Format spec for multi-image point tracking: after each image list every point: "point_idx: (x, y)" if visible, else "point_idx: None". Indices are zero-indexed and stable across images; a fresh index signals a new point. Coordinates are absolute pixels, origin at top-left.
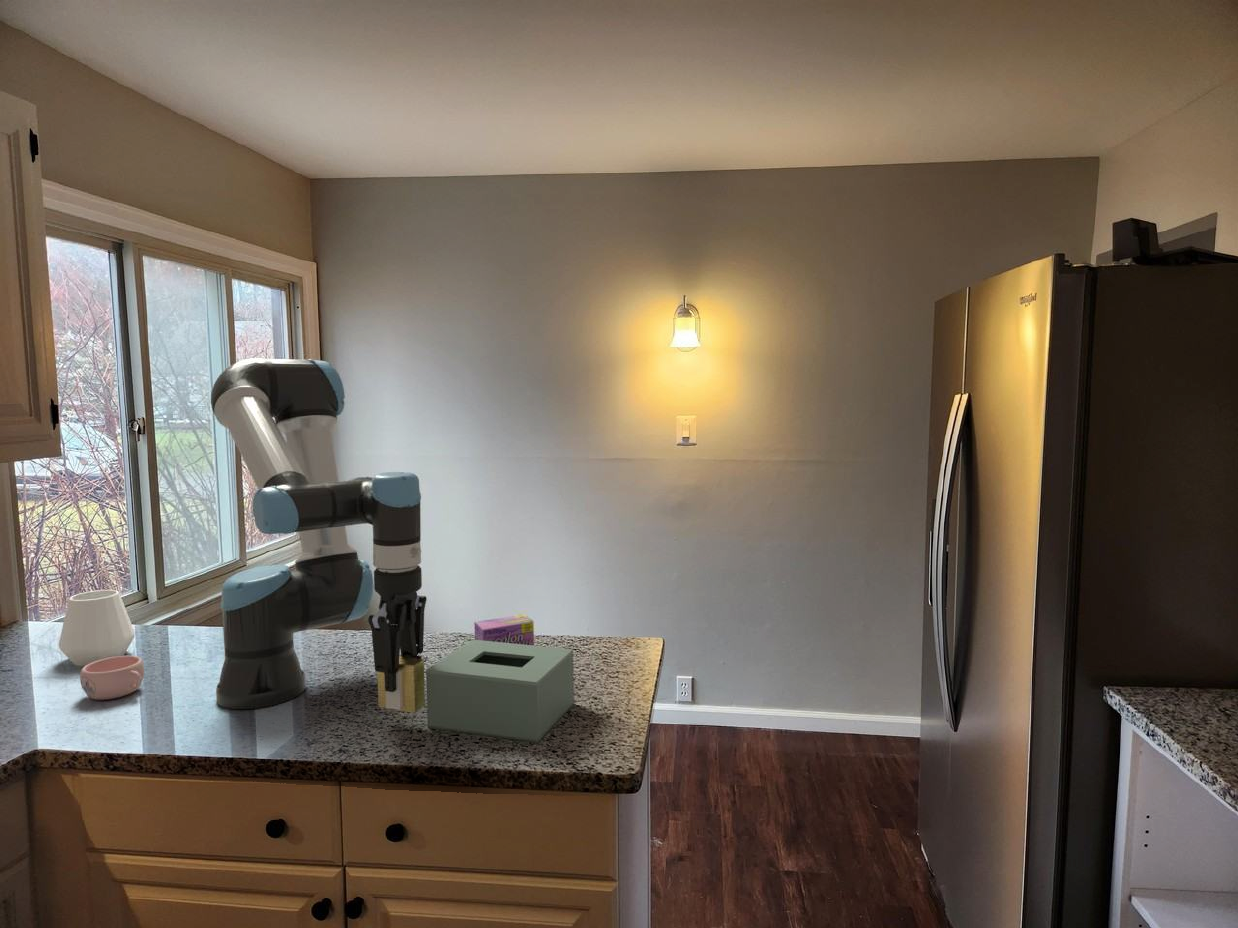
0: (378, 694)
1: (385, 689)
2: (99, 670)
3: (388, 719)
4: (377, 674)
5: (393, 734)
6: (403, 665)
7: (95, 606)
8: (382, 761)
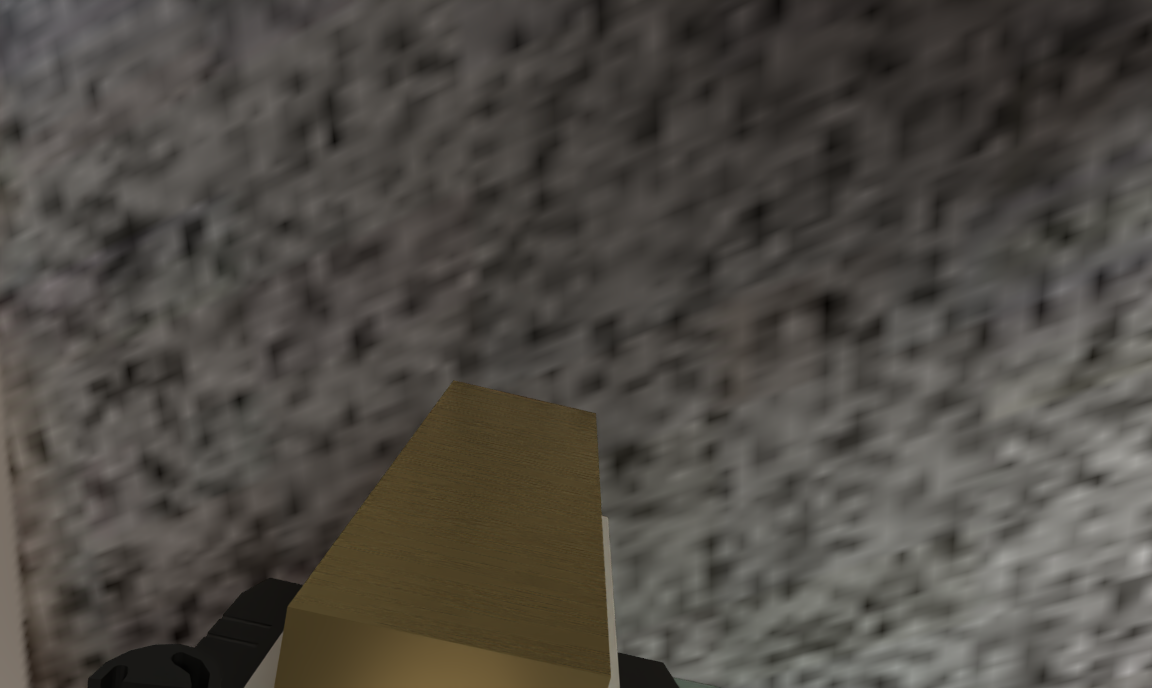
0: (431, 414)
1: (249, 592)
2: None
3: (593, 362)
4: (368, 496)
5: (381, 473)
6: None
7: None
8: (45, 535)
